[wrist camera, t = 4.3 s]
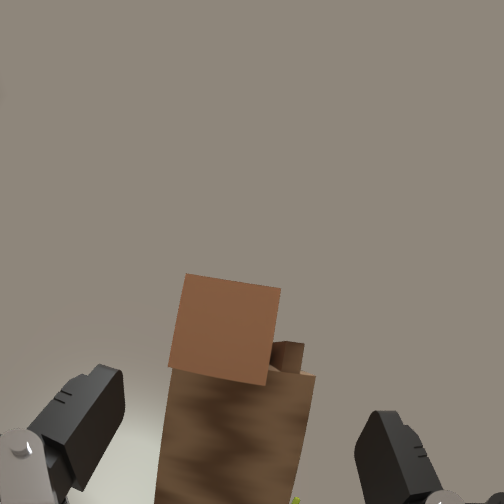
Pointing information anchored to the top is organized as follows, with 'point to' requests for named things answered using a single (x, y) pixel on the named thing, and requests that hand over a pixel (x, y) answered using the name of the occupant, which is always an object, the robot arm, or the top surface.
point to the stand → (235, 434)
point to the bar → (225, 329)
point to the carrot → (296, 500)
